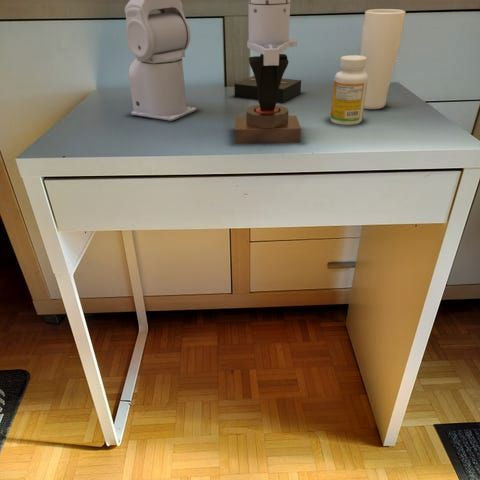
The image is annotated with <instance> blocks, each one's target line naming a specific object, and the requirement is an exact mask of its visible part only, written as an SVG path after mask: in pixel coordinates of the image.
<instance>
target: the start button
mask: <svg viewBox="0 0 480 480" xmlns="http://www.w3.org/2000/svg"><path fill="white" fill-rule="evenodd" d="M256 112H257V113H262V114H272V113H278V112H279V109H278V108H276V107H275V109H274V110H273V111H261V109H260V107H259V108H257V109H256Z"/></svg>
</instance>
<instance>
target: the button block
mask: <svg viewBox="0 0 480 480" xmlns="http://www.w3.org/2000/svg"><path fill="white" fill-rule="evenodd" d="M259 107H260V104H255V105H251V106H249V107H248V108H246V109H245V116H235V121H234V123H235V125H234V127H235V129H234V131H235V132H234V134H235V144H236V145H245V144H246V145H247V144H248V145H249V144H250V145H251V144H295V143H296V144H299V143H301V134H302V128H301V125H300V121H299V119H298V116H297V115H289V108H288V107H286V106H283V105H280V104H279V105H278V104H276V106H275V107H276V108H278V109H279V112H278V113H272V114H262V113H257V112H256V109H257V108H259Z"/></svg>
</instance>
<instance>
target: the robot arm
mask: <svg viewBox="0 0 480 480" xmlns="http://www.w3.org/2000/svg"><path fill="white" fill-rule="evenodd" d="M247 4H248V40H247V41H246V42H247V43H246V47H247V48H248V49H249V50H251V51H254V52H257V53H259V54H260V55H258V56H257V55H256V56H255V55H254V56H249V57H248V63H249V65H250V68H251V70H252V73H253V76H255V79H256V84H257V90H258V98H259V100H258V105H260V109H261V111H273V110H274V109H275V106H276V105H277V102H276V101H277V96H278V91H279V86H280V82H281V79H282V78H283V77H284V75H285V72H286V69H287V68H288V65H289V60H288V55H287V54H286V53H282V52H284V51H286V50H287V49H289V48H291V47H294V48H295V47H297V46H298V40H297V39H295V38H290V22H291V21H290V18H291V16H290V15H291V0H248V3H247ZM151 11H158V12H157V13H151ZM124 14H125V20H126V28H125V29H126V30H125V35H126V36H125V38H126V42H127V44H128V47H129V49H130V51H131V53H132V54H133V55H134V56H135V59H134V60H132V61H131V62H130V65H129V69H128V82H129V89H130V94H131V99H132V100H131V101H132V107H133V110H132V111H130V114H131V115H132V116H138V117H144V118H150V119H157V120H163V121H169V122H172V121H176V120H177V119H180V118H182V117H184V116H187V115H189V114H191V113H193V112H196V111H197V107H194V106H187V99H186V87H185V76H184V75H185V74H184V73H185V72H184V63H183V62H184V61H183V58H185V57H186V50H187V49H188V48H189V45H190V42H191V29H190V25H189V23H188V20H187V18H186V16H185V13H184V9H183V3H182V1H181V0H129V1H128V2H127V4H125V7H124Z"/></svg>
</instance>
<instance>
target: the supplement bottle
mask: <svg viewBox="0 0 480 480" xmlns="http://www.w3.org/2000/svg"><path fill="white" fill-rule="evenodd" d="M365 65H366V57H364V56H360V54H359V55H357V54H351V55H350V54H349V55H343V56H341V57H340V62H339V67H340V71H337V72H336V73H335V75H334V79H333V89H332V97H331V98H332V99H331V110H330V121H331V122H332V123H333V124H337V125H341V126H342V125H343V126H352V125H354V126H355V125H358V124H360V123H361V122H362V121H363V116H364V102H365V95H366V88H367V81H368V75H367V74H366V73H365V72H364V71H363V68H365Z"/></svg>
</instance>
